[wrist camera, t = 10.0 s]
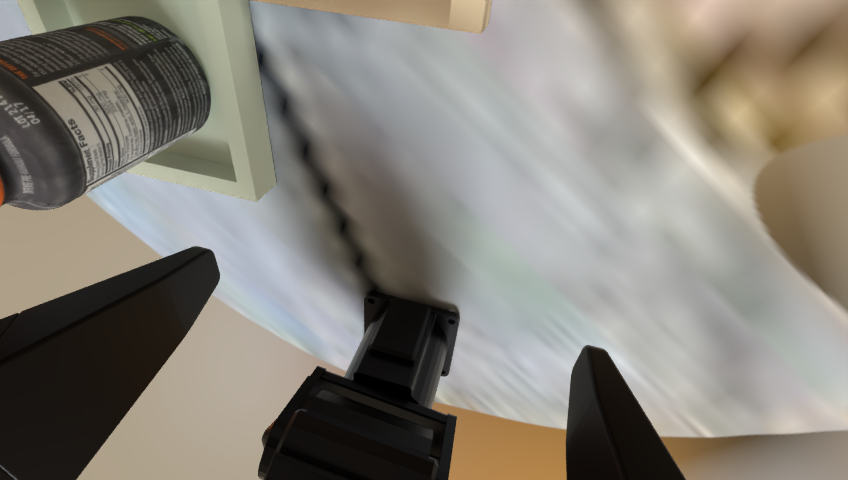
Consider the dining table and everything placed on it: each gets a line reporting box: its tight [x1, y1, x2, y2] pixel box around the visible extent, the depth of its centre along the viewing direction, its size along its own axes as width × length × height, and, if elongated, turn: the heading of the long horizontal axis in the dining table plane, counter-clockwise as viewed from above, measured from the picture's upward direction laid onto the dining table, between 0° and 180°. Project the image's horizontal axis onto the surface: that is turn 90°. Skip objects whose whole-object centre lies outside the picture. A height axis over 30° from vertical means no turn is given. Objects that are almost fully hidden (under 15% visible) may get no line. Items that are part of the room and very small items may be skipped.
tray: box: [17, 0, 277, 202], centre depth 21 cm, size 11×11×2 cm
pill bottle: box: [0, 16, 211, 210], centre depth 17 cm, size 6×6×11 cm
